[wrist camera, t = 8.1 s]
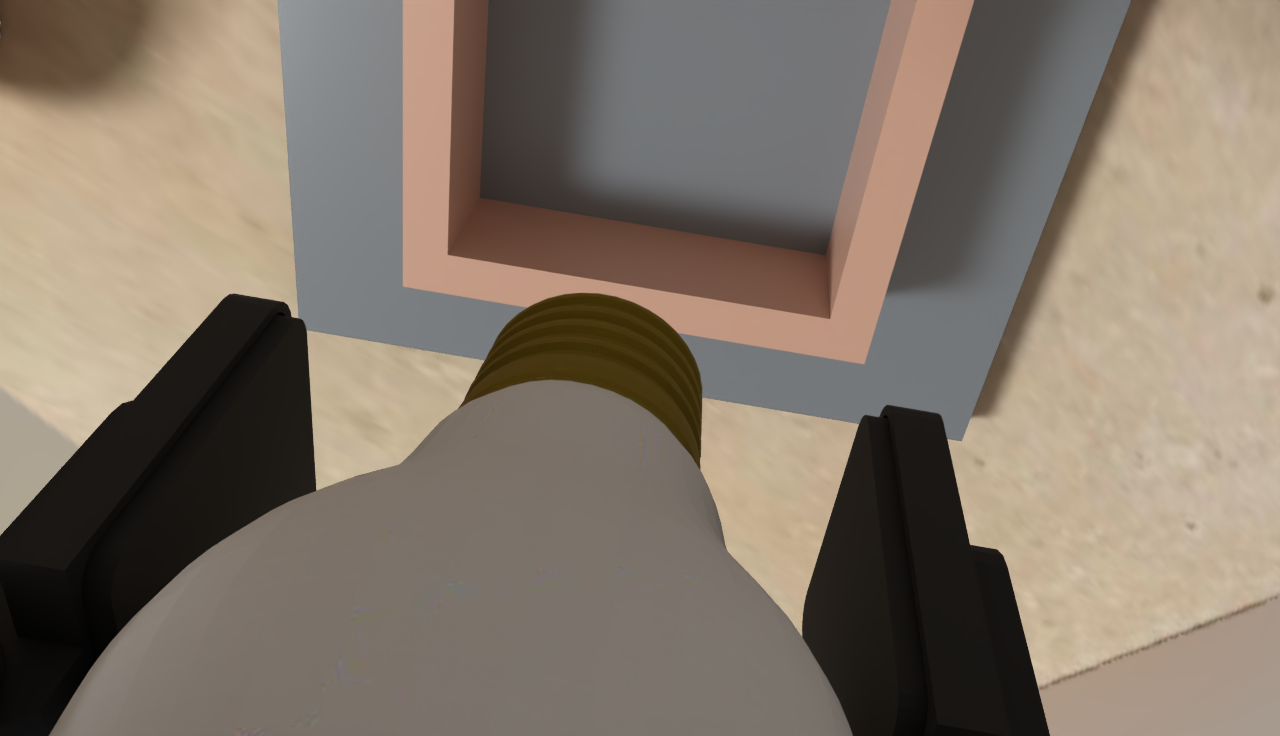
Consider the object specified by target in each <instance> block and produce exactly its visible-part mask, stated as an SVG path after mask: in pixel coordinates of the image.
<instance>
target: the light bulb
mask: <svg viewBox="0 0 1280 736" xmlns="http://www.w3.org/2000/svg"><path fill="white" fill-rule="evenodd" d="M701 419H702V382H701V376H700V372H699V369H698V366H697V363H696V360H695V358H694V356H693V354H692V353H691V351H690V349H689V347H688V346H687V344H686V343H685V341H684V340H683V339H682V338H681V336H680V335H679V334H678V333H677V332H676V330H674V329H673V328H672V327H671V326H670V325H669V324H668V323H667V322H666V321H665V320H663V319H662V318H660V317H659V316H658V315H656V314H655V313H653V312H652V311H650V310H648V309H646V308H644V307H642V306H640V305H638V304H636V303H634V302H631V301H628V300H625V299H622V298H619V297H616V296H610V295H605V294H599V293H572V294H563V295H559V296H555V297H551V298H547V299H545V300H542V301H540V302H538V303H535V304H533V305H531V306H530V307H528V308H526V309H525V310H523V311H522V312H520V313H518V314H517V315H516V316H515V317H514V318H513V319H512V320H511V321H509V322H508V323H507V324H506V326H505V327H504V328H503V329H502V331H501V332H500V333H499V335H498V336H497V338H496V340H495V342H494V344H493V346H492V348H491V349H490V351H489V353H488V355H487V357H486V359H485V361H484V363H483V364H482V366H481V368H480V370H479V372H478V374H477V376H476V378H475V380H474V382H473V383H472V384H471V386H470V388H469V390H468V393H467V395H466V397H465V400H464V401H463V403H462V404H461V405H460V407H459V408H458V409H457V410H456V411H454V412H453V413H451V414H450V415H449V416H447V417H446V418H445V419H444V420H442V421H441V422H440V423H439V424H438V425H437V426H436V427H435V428H434V429H433V430H432V431H431V432H430V434H429V435H428V436H427V437H426V438H425V439H424V440H423V441H422V442H421V443H420V445H419V446H418V447H417V448H416V449H415V450H414V451H413V452H412V453H411V454H410V455H409V456H408V457H407V458H406V459H405V460H404V461H403V462H402V463H401V464H399V465H396V466H392V467H389V468H385V469H381V470H377V471H373V472H370V473H366V474H362V475H358V476H355V477H352V478H350V479H347V480H344V481H341V482H338V483H336V484H333V485H330V486H328V487H325V488H323V489H320V490H317V491H315V492H312V493H309V494H307V495H304V496H302V497H299V498H296V499H294V500H292V501H289V502H287V503H285V504H283V505H281V506H279V507H277V508H275V509H273V510H271V511H270V512H268V513H266V514H265V515H263V516H261V517H260V518H258V519H257V520H255V521H253V522H252V523H250V524H248V525H247V526H245V527H243V528H242V529H240V530H238V531H237V532H235V533H233V534H232V535H230V536H229V537H227V538H226V539H224V540H222V541H221V542H219V543H218V544H216V545H214V546H213V547H211V548H210V549H209V550H207V551H206V552H205V553H203V554H202V555H201V556H199V557H198V558H197V559H196V560H194V561H193V562H192V563H190V564H189V565H188V566H187V567H186V568H185V569H184V570H182V571H181V572H180V573H179V574H178V575H177V576H176V577H175V578H174V579H173V580H172V581H171V582H170V583H169V584H167V585H166V586H165V587H164V588H163V589H162V590H161V591H160V592H159V593H158V594H157V595H156V596H155V597H154V598H153V599H152V600H151V601H150V602H148V603H147V604H146V605H145V606H144V607H143V608H142V609H141V610H140V611H139V612H138V613H137V614H136V615H135V616H134V617H133V618H132V619H131V620H130V621H129V622H128V623H127V624H126V625H125V627H124V628H123V629H122V630H121V631H120V632H119V633H118V634H117V635H116V637H115V638H114V639H113V640H112V641H111V642H110V644H109V645H108V646H107V647H106V649H105V650H104V651H103V653H102V654H101V655H100V657H99V658H98V659H97V661H96V662H95V663H94V665H93V666H92V667H91V669H90V670H89V672H88V673H87V675H86V676H85V678H84V680H83V681H82V683H81V684H80V686H79V687H78V689H77V691H76V692H75V694H74V695H73V697H72V698H71V700H70V702H69V703H68V705H67V707H66V708H65V710H64V712H63V713H62V715H61V716H60V718H59V720H58V721H57V723H56V725H55V726H54V728H53V730H52V731H51V733H50V735H49V736H853V735H852V732H851V729H850V726H849V723H848V721H847V719H846V716H845V714H844V711H843V709H842V707H841V704H840V702H839V700H838V698H837V696H836V694H835V692H834V690H833V688H832V686H831V685H830V683H829V681H828V679H827V677H826V676H825V674H824V672H823V671H822V669H821V667H820V666H819V664H818V662H817V661H816V659H815V657H814V656H813V654H812V652H811V651H810V649H809V647H808V646H807V644H806V643H805V641H804V639H803V638H802V636H801V635H800V634H799V632H798V631H797V629H796V628H795V626H794V625H793V623H792V622H791V621H790V619H789V618H788V616H787V615H786V614H785V613H784V612H783V611H782V610H781V608H780V607H779V606H778V605H777V604H776V603H775V602H774V601H773V599H772V598H771V597H770V596H769V595H768V594H767V593H766V591H765V590H764V589H763V588H762V587H761V586H760V585H759V584H758V582H757V581H756V580H755V579H754V578H753V577H752V576H751V575H750V574H749V573H748V572H747V571H746V570H745V569H744V568H743V567H742V566H741V565H740V564H739V563H738V562H737V561H736V560H735V559H734V558H733V557H732V556H731V555H730V553H729V552H728V551H727V549H726V546H725V541H724V536H723V531H722V526H721V522H720V518H719V515H718V511H717V508H716V505H715V502H714V500H713V497H712V495H711V492H710V490H709V487H708V485H707V483H706V481H705V479H704V476H703V474H702V472H701V471H700V457H701V425H702V420H701Z"/></svg>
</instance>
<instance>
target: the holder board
mask: <svg viewBox="0 0 1280 736" xmlns="http://www.w3.org/2000/svg"><path fill="white" fill-rule="evenodd" d="M1130 2H1131V0H278V14H279V29H280V44H281V59H282V74H283V89H284V104H285V119H286V134H287V149H288V165H289V180H290V195H291V210H292V225H293V240H294V255H295V270H296V285H297V300H298V315H299V319H302V320H303V321H304V323H305V325H306V330H309V331H315V332H321V333H327V334H333V335H338V336H344V337H350V338H356V339H362V340H368V341H374V342H380V343H386V344H391V345H397V346H403V347H409V348H415V349H421V350H427V351H433V352H439V353H445V354H450V355H456V356H462V357H468V358H474V359H480V360H485V359H486V357H487V355H488V353H489V351H490V349H491V348H492V346H493V344H494V342H495V340H496V338H497V336H498V335H499V333H500V332H501V331H502V329H503V328H504V327H505V326H506V324H507V323H508V322H509V321H511V320H512V319H513V318H514V317H515V316H516V315H517V314H518V313H520V312H522V311H523V310H525V309H526V308H528V307H530V306H531V305H533V304H535V303H538V302H540V301H542V300H545V299H547V298H551V297H555V296H559V295H563V294H572V293H599V294H605V295H610V296H616V297H619V298H622V299H625V300H628V301H631V302H634V303H636V304H638V305H640V306H642V307H644V308H646V309H648V310H650V311H652V312H653V313H655V314H656V315H658V316H659V317H660V318H662V319H663V320H665V321H666V322H667V323H668V324H669V325H670V326H671V327H672V328H673V329H674V330H676V332H677V333H678V334H679V335H680V336H681V338H682V339H683V340H684V341H685V343H686V344H687V346H688V347H689V349H690V351H691V353H692V354H693V356H694V358H695V360H696V363H697V366H698V369H699V372H700V376H701V382H702V397H704V398H710V399H715V400H721V401H727V402H733V403H739V404H745V405H751V406H757V407H763V408H768V409H774V410H780V411H786V412H792V413H798V414H804V415H810V416H816V417H821V418H827V419H833V420H839V421H845V422H851V423H857V424H860V421H861V419H862V417H863V416H864V415H870V416H875V417H879V416H880V414H881V411H882V410H883V408H884V407H885V406H886V405H893V406H898V407H904V408H910V409H916V410H922V411H928V412H934V413H938V414H940V415H941V416H942V419H943V422H944V427H945V432H946V436H947V439H951V440H957V441H962V439H963V436H964V434H965V431H966V428H967V426H968V423H969V421H970V418H971V416H972V413H973V410H974V408H975V405H976V403H977V400H978V397H979V395H980V392H981V390H982V387H983V384H984V382H985V379H986V377H987V374H988V371H989V369H990V366H991V364H992V361H993V358H994V356H995V353H996V351H997V348H998V345H999V343H1000V340H1001V338H1002V335H1003V332H1004V330H1005V327H1006V325H1007V322H1008V319H1009V317H1010V314H1011V312H1012V309H1013V306H1014V304H1015V301H1016V299H1017V296H1018V293H1019V291H1020V288H1021V286H1022V283H1023V280H1024V278H1025V275H1026V273H1027V270H1028V267H1029V265H1030V262H1031V260H1032V257H1033V254H1034V252H1035V249H1036V247H1037V244H1038V241H1039V239H1040V236H1041V234H1042V231H1043V228H1044V226H1045V223H1046V221H1047V218H1048V215H1049V213H1050V210H1051V208H1052V205H1053V202H1054V200H1055V197H1056V195H1057V192H1058V189H1059V187H1060V184H1061V182H1062V179H1063V176H1064V174H1065V171H1066V169H1067V166H1068V163H1069V161H1070V158H1071V156H1072V153H1073V150H1074V148H1075V145H1076V143H1077V140H1078V138H1079V135H1080V132H1081V130H1082V127H1083V125H1084V122H1085V119H1086V117H1087V114H1088V112H1089V109H1090V106H1091V104H1092V101H1093V99H1094V96H1095V93H1096V91H1097V88H1098V86H1099V83H1100V80H1101V78H1102V75H1103V73H1104V70H1105V67H1106V65H1107V62H1108V60H1109V57H1110V54H1111V52H1112V49H1113V47H1114V44H1115V41H1116V39H1117V36H1118V34H1119V31H1120V28H1121V26H1122V23H1123V21H1124V18H1125V15H1126V13H1127V10H1128V8H1129V5H1130Z"/></svg>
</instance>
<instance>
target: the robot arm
mask: <svg viewBox="0 0 1280 736" xmlns="http://www.w3.org/2000/svg"><path fill="white" fill-rule="evenodd" d="M315 491H316V478H315V462H314V445H313V428H312V412H311V395H310V378H309V362H308V345H307V331H306V325H305V323H304V321H303V320H302V319H299V318H293V317H291V312H290V309H289V307H288V305H287V304H286V303H284V302H280V301H274V300H268V299H262V298H257V297H251V296H245V295H239V294H229V295H228V296H226V297H225V298H224V299H223V300H222V301H221V302H220V303H219V304H218V306H217V307H216V308H215V309H214V310H213V311H212V312H211V313H210V315H209V316H208V317H207V318H206V319H205V320H204V321H203V323H202V324H201V325H200V326H199V327H198V328H197V329H196V330H195V332H194V333H193V334H192V335H191V336H190V337H189V338H188V339H187V341H186V342H185V343H184V344H183V345H182V346H181V347H180V348H179V350H178V351H177V352H176V353H175V354H174V355H173V356H172V357H171V359H170V360H169V361H168V362H167V363H166V364H165V365H164V366H163V368H162V369H161V370H160V371H159V372H158V373H157V374H156V375H155V377H154V378H153V379H152V380H151V381H150V382H149V383H148V385H147V386H146V387H145V388H144V389H143V390H142V391H141V392H140V394H139V395H138V396H137V397H136V398H135V399H134V400H133V401H129V402H126V403H122V404H121V405H120V406H119V407H118V408H116V409H115V410H114V411H113V412H112V413H111V414H110V415H109V416H108V417H107V418H106V419H105V420H104V421H103V422H102V424H101V425H100V426H99V427H98V428H97V429H96V430H95V431H94V432H93V434H92V435H91V436H90V437H89V438H88V439H87V440H86V441H85V442H84V444H83V445H82V446H81V447H80V448H79V449H78V450H77V451H76V452H75V454H74V455H73V456H72V457H71V458H70V459H69V460H68V461H67V462H66V464H65V465H64V466H63V467H62V468H61V469H60V470H59V471H58V472H57V474H56V475H55V476H54V477H53V478H52V479H51V480H50V481H49V482H48V483H47V485H46V486H45V487H44V488H43V489H42V490H41V491H40V492H39V494H38V495H37V496H36V497H35V498H34V499H33V500H32V501H31V502H30V503H29V505H28V506H27V507H26V508H25V509H24V510H23V511H22V512H21V514H20V515H19V516H18V517H17V518H16V519H15V520H14V521H13V522H12V524H10V526H9V527H8V528H7V529H6V530H5V531H4V532H3V534H1V536H0V736H49V735H50V733H51V731H52V730H53V728H54V726H55V725H56V723H57V721H58V720H59V718H60V716H61V715H62V713H63V712H64V710H65V708H66V707H67V705H68V703H69V702H70V700H71V698H72V697H73V695H74V694H75V692H76V691H77V689H78V687H79V686H80V684H81V683H82V681H83V680H84V678H85V676H86V675H87V673H88V672H89V670H90V669H91V667H92V666H93V665H94V663H95V662H96V661H97V659H98V658H99V657H100V655H101V654H102V653H103V651H104V650H105V649H106V647H107V646H108V645H109V644H110V642H111V641H112V640H113V639H114V638H115V637H116V635H117V634H118V633H119V632H120V631H121V630H122V629H123V628H124V627H125V625H126V624H127V623H128V622H129V621H130V620H131V619H132V618H133V617H134V616H135V615H136V614H137V613H138V612H139V611H140V610H141V609H142V608H143V607H144V606H145V605H146V604H147V603H148V602H150V601H151V600H152V599H153V598H154V597H155V596H156V595H157V594H158V593H159V592H160V591H161V590H162V589H163V588H164V587H165V586H166V585H167V584H169V583H170V582H171V581H172V580H173V579H174V578H175V577H176V576H177V575H178V574H179V573H180V572H181V571H182V570H184V569H185V568H186V567H187V566H188V565H189V564H190V563H192V562H193V561H194V560H196V559H197V558H198V557H199V556H201V555H202V554H203V553H205V552H206V551H207V550H209V549H210V548H211V547H213V546H214V545H216V544H218V543H219V542H221V541H222V540H224V539H226V538H227V537H229V536H230V535H232V534H233V533H235V532H237V531H238V530H240V529H242V528H243V527H245V526H247V525H248V524H250V523H252V522H253V521H255V520H257V519H258V518H260V517H261V516H263V515H265V514H266V513H268V512H270V511H271V510H273V509H275V508H277V507H279V506H281V505H283V504H285V503H287V502H289V501H292V500H294V499H296V498H299V497H302V496H304V495H307V494H309V493H312V492H315ZM802 637H803V639H804V641H805V643H806V644H807V646H808V647H809V649H810V651H811V652H812V654H813V656H814V657H815V659H816V661H817V662H818V664H819V666H820V667H821V669H822V671H823V672H824V674H825V676H826V677H827V679H828V681H829V683H830V685H831V686H832V688H833V690H834V692H835V694H836V696H837V698H838V700H839V702H840V704H841V707H842V709H843V711H844V714H845V716H846V719H847V721H848V723H849V726H850V729H851V732H852V735H853V736H1050V734H1049V730H1048V726H1047V722H1046V718H1045V714H1044V710H1043V706H1042V702H1041V698H1040V694H1039V690H1038V686H1037V682H1036V678H1035V674H1034V670H1033V666H1032V662H1031V658H1030V654H1029V650H1028V646H1027V643H1026V639H1025V635H1024V631H1023V627H1022V623H1021V619H1020V615H1019V611H1018V607H1017V603H1016V599H1015V595H1014V591H1013V587H1012V583H1011V579H1010V575H1009V571H1008V567H1007V565H1006V562H1005V559H1004V557H1003V555H1002V554H1001V553H1000V552H999V551H998V550H997V549H991V548H985V547H979V546H973V545H970V543H969V538H968V534H967V529H966V524H965V520H964V515H963V510H962V506H961V501H960V496H959V492H958V487H957V483H956V478H955V473H954V469H953V464H952V459H951V455H950V450H949V445H948V441H947V436H946V432H945V427H944V422H943V419H942V416H941V415H940V414H938V413H934V412H928V411H922V410H916V409H910V408H904V407H898V406H893V405H886V406H885V407H884V408H883V410H882V411H881V414H880V416H879V417H875V416H870V415H864V416H863V417H862V419H861V421H860V424H859V426H858V429H857V433H856V436H855V439H854V442H853V446H852V449H851V452H850V455H849V458H848V462H847V465H846V468H845V471H844V475H843V478H842V481H841V484H840V488H839V491H838V494H837V497H836V500H835V504H834V507H833V510H832V513H831V517H830V520H829V523H828V526H827V530H826V533H825V536H824V539H823V543H822V546H821V549H820V552H819V555H818V559H817V562H816V565H815V568H814V572H813V575H812V578H811V581H810V585H809V588H808V591H807V595H806V599H805V604H804V611H803V621H802Z"/></svg>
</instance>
